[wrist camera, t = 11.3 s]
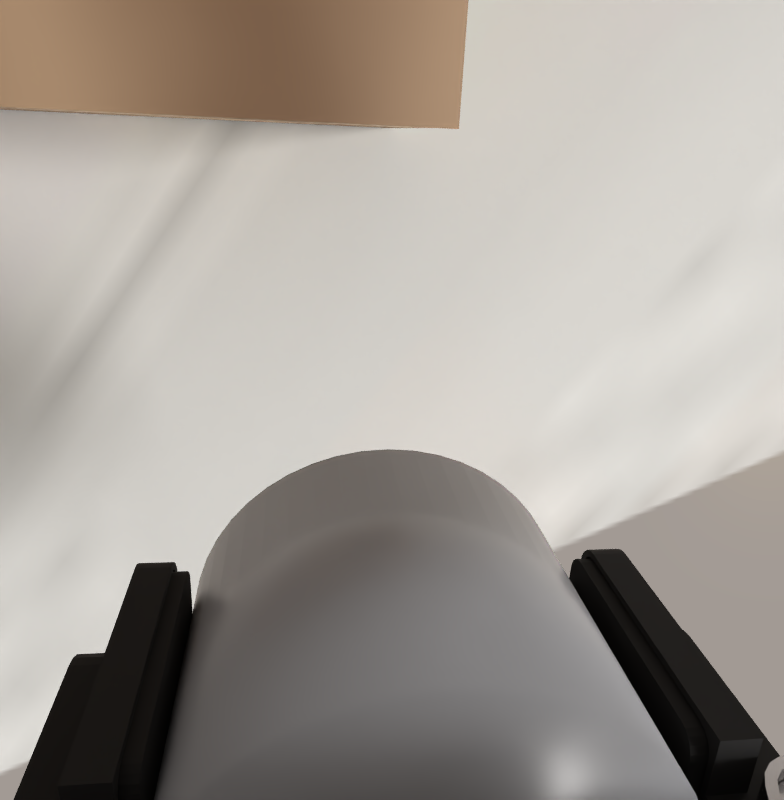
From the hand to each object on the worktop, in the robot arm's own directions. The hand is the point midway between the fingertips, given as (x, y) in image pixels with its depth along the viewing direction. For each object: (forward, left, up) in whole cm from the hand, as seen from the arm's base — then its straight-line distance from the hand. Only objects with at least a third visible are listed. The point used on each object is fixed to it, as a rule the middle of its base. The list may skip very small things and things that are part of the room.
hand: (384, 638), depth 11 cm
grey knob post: (0, 0, -1) cm, 1 cm away
